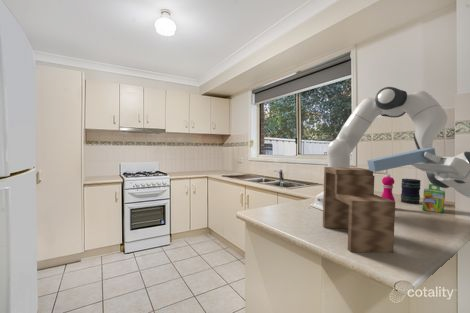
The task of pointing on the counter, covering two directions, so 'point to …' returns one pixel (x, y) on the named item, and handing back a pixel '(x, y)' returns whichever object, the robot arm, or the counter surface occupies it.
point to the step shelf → (358, 209)
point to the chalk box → (433, 199)
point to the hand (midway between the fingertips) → (418, 153)
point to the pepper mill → (388, 187)
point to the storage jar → (410, 191)
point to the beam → (399, 160)
